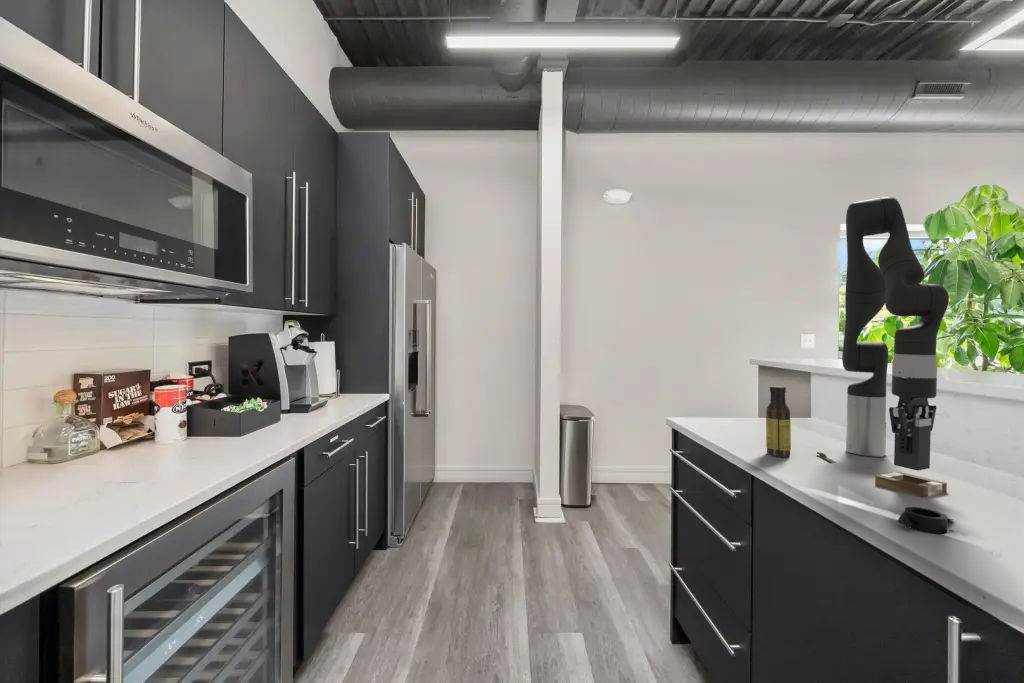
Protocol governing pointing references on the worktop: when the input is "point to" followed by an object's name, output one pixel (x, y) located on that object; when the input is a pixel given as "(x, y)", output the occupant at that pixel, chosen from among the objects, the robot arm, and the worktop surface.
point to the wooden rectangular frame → (911, 484)
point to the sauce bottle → (778, 424)
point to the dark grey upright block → (916, 447)
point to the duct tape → (924, 520)
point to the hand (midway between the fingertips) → (911, 451)
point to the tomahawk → (826, 458)
